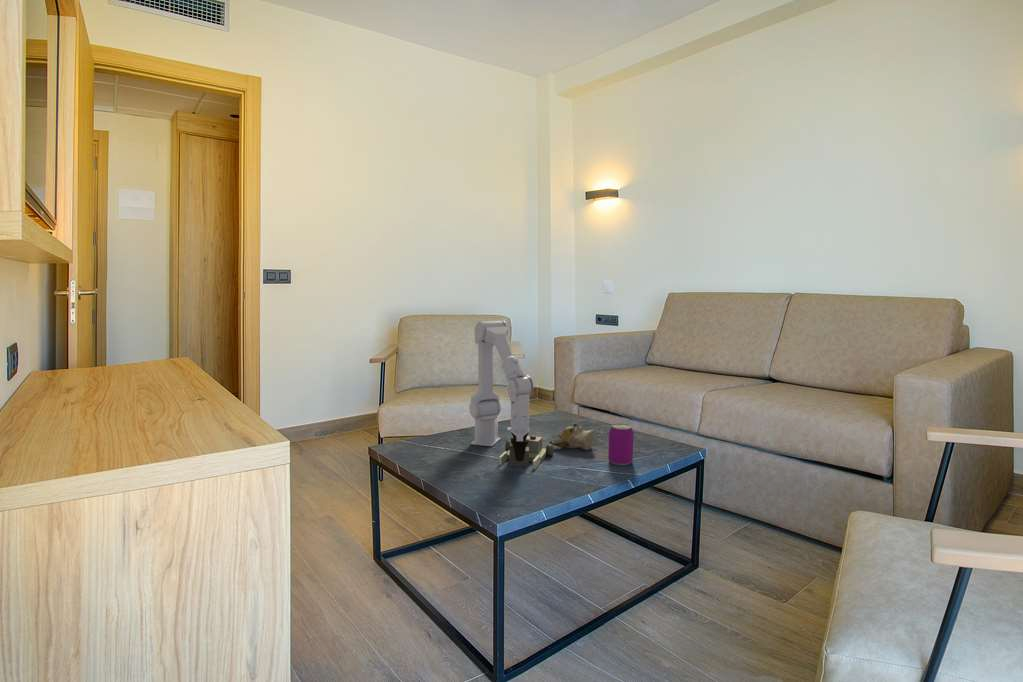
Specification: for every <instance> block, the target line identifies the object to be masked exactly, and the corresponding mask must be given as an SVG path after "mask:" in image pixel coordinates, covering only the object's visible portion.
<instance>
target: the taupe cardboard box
mask: <svg viewBox="0 0 1023 682" xmlns="http://www.w3.org/2000/svg"><path fill="white" fill-rule="evenodd" d="M508 460H509V462H508V463H509V467H530V466H529V465H530V464H529V447H526V449H525V454H524V459H523V461H516V458H515V452H514V448H513V445H512V443H511V442H510V457H509V459H508Z"/></svg>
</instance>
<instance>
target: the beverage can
mask: <svg viewBox="0 0 1023 682" xmlns="http://www.w3.org/2000/svg"><path fill="white" fill-rule="evenodd" d="M610 426H611V427H610V428H609V432H608V457H607V459H608V460H609V462H610V463H611V464H613V465H616V466H627V465H628V466H629V465H630V464H631V463H632V462H633V459H634V436H635V434H634V430H633V427H632V425H631V424H628V423H623V422H615V423H611V425H610Z"/></svg>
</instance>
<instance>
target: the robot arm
mask: <svg viewBox="0 0 1023 682" xmlns="http://www.w3.org/2000/svg"><path fill="white" fill-rule="evenodd" d="M508 335H509V326H508V324H507V322H506V321H505V320H503V319H500V320H487V321H486V320H485V321H482V320H479V321H477V323H476V324H475V326H474V344H476V345H477V348H478V349H477V351H478V353H477V354H478V355H477V356H478V358H477V359H478V361H477V364H478V366H477V367H478V368H477V369H478V374H477V375H478V380H477V381H478V390H477V391H476V392H475V393H474V394H472V395H471V396H470V404H469V414H470V415H471V417H472V418H473V419H474V440H473V441H471V442H470V445H474V446H482V447H483V446H485V447H493V446H494V445H496V444H497V442H499V441H500V440H501V437H499V420H498V416H499V415H500V413H501V409H502V407H501V402H500V396H499V395H498V394H497V393H496V392H495V391H494V378H493V377H494V362H493V361H494V356H493V355H494V347H495V348H496V350H497V352H498V354H499V356H500V358H501V359H502V363H501V367H502V370H503V372H504V375H505V376H506V380H507V382H508V383H507V385H506V387H507V392H508V396H509V397H508V398H509V401H510V426H509V427H507V428H506V431H507V432H510V433H511V436H512V437H511V438H510V441H511V443H512V445H513V448H514V452H515V458H516V461H523V459H524V454H525V449H526V446H527V444H528V442H529V439H526V438H527V436H529V432H531V431H530V430H531V429H530V395H531V394H532V393H533V391H534V383H533V382H534V381H533V379H532V377H531V376H530V375H528V373H526V372H524V368H523V366H522V364H521V362H520V360H519V358H518V357H516V356H514V354H513V351H512V348H511V345H510V343H509V340H508Z"/></svg>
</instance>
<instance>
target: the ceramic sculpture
mask: <svg viewBox="0 0 1023 682" xmlns="http://www.w3.org/2000/svg"><path fill="white" fill-rule="evenodd" d="M558 437H559V438H558V439H556V440H554V441H549V445H553V446H554V447H555V446H556V447H558V448H569V449H576V448H582V449H583V450H584V451H589V450H590V449H592V446H593V443H594V441H595V437H596V430H595V429H591V430H584V429H583V427H582V426H581V425H579V424H577V423H574V424H573V426H567V427H565V428H564V429H563V430H562V432H561V434H559V435H558Z"/></svg>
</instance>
